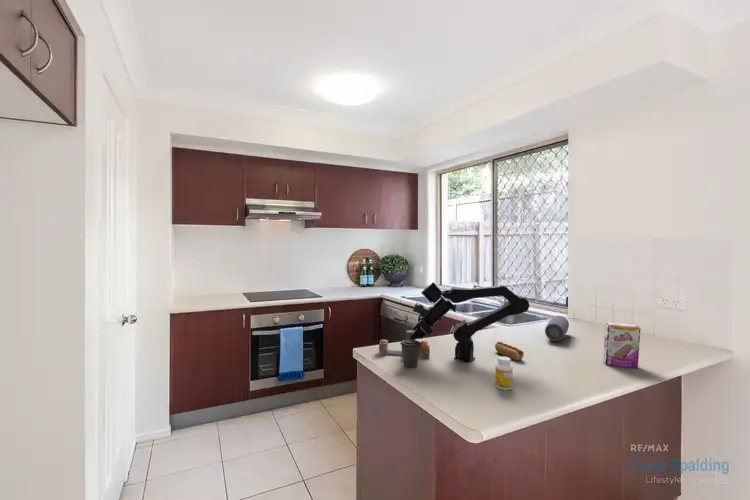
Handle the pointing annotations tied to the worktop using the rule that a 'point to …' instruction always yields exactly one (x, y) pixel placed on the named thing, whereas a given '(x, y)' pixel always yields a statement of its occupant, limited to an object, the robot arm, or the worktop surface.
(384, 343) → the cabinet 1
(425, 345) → the gauge button
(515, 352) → the food
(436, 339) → the worktop surface
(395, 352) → the handrail
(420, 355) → the cabinet
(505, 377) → the supplement bottle
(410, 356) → the coffee cup
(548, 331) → the bluetooth speaker
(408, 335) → the plate
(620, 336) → the candy bar box
